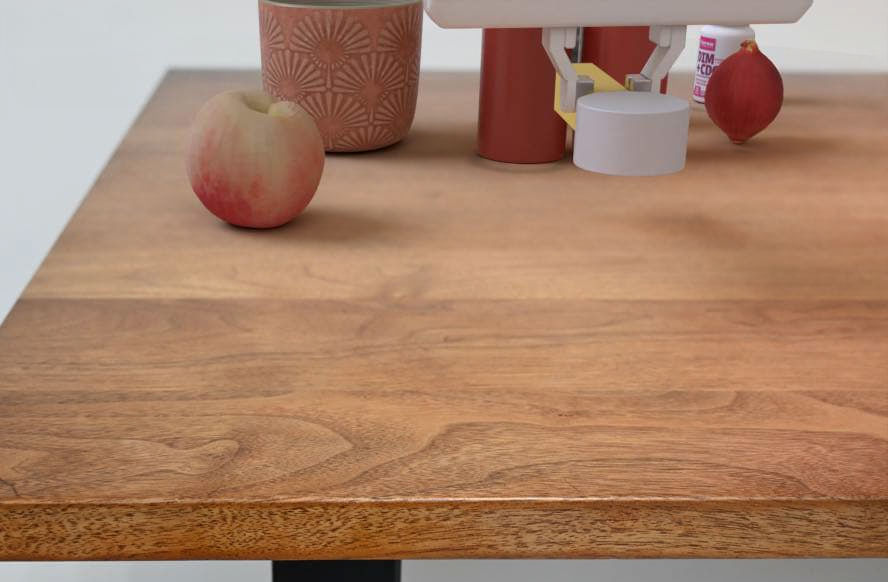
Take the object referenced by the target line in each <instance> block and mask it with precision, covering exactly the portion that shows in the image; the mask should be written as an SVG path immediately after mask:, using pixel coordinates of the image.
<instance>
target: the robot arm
mask: <svg viewBox="0 0 888 582" xmlns="http://www.w3.org/2000/svg"><path fill="white" fill-rule="evenodd" d="M422 3H423V8H424V10H423V11H424V13H426V15H427V17H428V18H429V19H430V20H431V21H432V22H433V23H434V24H435V25H436V26H438V27H439V28H440V29H444V30H459V29H460V30H462V29H463V30H465V29H482V28H536V27H543V31H542V45H543V46H544V48H545V50H546V52H547V54H548V56H549V58H550V60H551V62H552V64H553V66H554V68H555V69H556V71H557V73H558V75H559V76H560V77H561V79H560V97H559V103H560V109H561V110H562V111H563V112H564V113H576V107H577V100H578V98H580V97H582V96H585V95H588V94H593V93H594V80H592V79H590V77H589V76H587V75H577V74H576V72H575V70H574V68H573V66H572V64H571V62H570V60H569V58H568V56H567V54H566V52H565V50H564V47H565V48H567V49H568V48H574V47H575V45H576V32H577V27H601V26H650V31H649V40H650V41H652V42H653V43H655V44H657V47H656V48H655V50H654V51H653V53H652V55H651V56H650V58H649V60H648V61H647V63H646V65H645V66H644V68H643V70H642V71H641V74H628V75H626V79H625V88H626V89H628V90H629V91H637V92H652V93H660V84H661V79H664V77H665V76H666V74H667V73H668V71H670V70H671V69H672V67H673V66H674V64H675V63H676V61H677V60H678V58H679V57H680V55H681V54H682V52H683V50H685V48H686V41H687V30H688V26H706V25H731V24H750V25H782V24H783V25H785V24H786V25H787V24H788V25H789V24H796V23H797V22H799V21H800V19H802V18H803V16H805V14H806V13H807V12H808V10H809V9H810V8H811V7H812V5H813V3H814V0H422ZM668 74H669V73H668Z"/></svg>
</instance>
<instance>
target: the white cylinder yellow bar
mask: <svg viewBox="0 0 888 582" xmlns="http://www.w3.org/2000/svg"><path fill="white" fill-rule="evenodd" d="M571 64H572V66H573V68H574V70H575V72H576V74H577V75H587V76H589V77H590V79H592V80H594V93H593V94H588V95H585V96H582V97H580V98H578V100H577V107H576V113H564V112H563V111H562V110H561V109H560V103H559V97H560V79H561V77H560V76H559V75H558V73H557V71H556V84H555V102H554V110H555V111H556V112H557V113H558V114H559V115H560V116H561V117H562V118H563V119H564V120H565V121H566V122H567V125H568V126H570V127H571V129H572V130H573V129H574V130H575V139H574V154H573V155H572V157H573V158H572V160H573V161H572V163H573V164H574V165H575V166H576V167H578V168H580V169H581V170H584V171H587V172H590V173H594V174H599V175H605V176H611V177H623V178H653V177H663V176H668V175H672V174H676V173H679V172H681V171H682V170H684V169H685V167H686V161H687V160H686V159H687V149H688V138H689V128H690V119H691V109H692V108H691V107H692V104H691V102H690V101H689V100H687V99H685V98H683V97H679V96H676V95H671V94H668V93H666V94H660V93H652V92H637V91H629V90H628V89H626V88H625V87H624V86H622V85H621V84H620V83H618V82H617V81H615V80H614V79H613V78H611V77H610V76H609V75H607V74H606V73H605V72H603V71H602V70H601V69H599V68H598V67H597V66H595V65H594V64H593V63H571Z"/></svg>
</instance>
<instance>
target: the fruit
mask: <svg viewBox="0 0 888 582" xmlns="http://www.w3.org/2000/svg"><path fill="white" fill-rule="evenodd" d="M184 147H185V148H184V162H185V163H184V164H185V165H184V166H185V170H186V175H187V178H188V180H189V183H190V186H191V188H192V191H193V192H194V194H195V196H196V197H197V198H198V200H199V201H200V202H201V204H202V205H203V206H204V208H205V209H206V210H207V211H208V212H210V214H212V215H213V216H215V217H216V218H218V219H219V220H221V221H223V222H225V223H229V224H231V225H234V226H237V227H242V228H251V229H252V228H253V229H271V228H276V227H280V226H282V225H284V224H286V223H288V222H290V221H292V220H294V219H295V218H297V217H298V216H300V214H301V213H302V212H303V211H304V210H305V209H306V208H307V207H308V206H309V204H310V203H311V201H312V200H313V199H314V196H315V195H316V192H317V191H318V188H319V185H320V182H321V180H322V176H323V173H324V168H325V160H326V159H325V158H326V152H325V151H324V146H323V142H322V139H321V136H320V133H319V131H318V128H317V126H316V124H315V122H314V121H313V119H312V118H311V116H310V115H309V114H308V112H307V111H306V110H305V109H304V108H302V107H301V106H300V105H298V104H296V103H294V102H289V101H280V100H279V99H278V98H277V97H276V96H274V95H272V94H270V93H268V92H266V91H263V89H258V88H251V87H250V88H249V87H248V88H232V89H229V90H224V91H221V92H219V93H217V94H216V95H214V96H213V97H211V98H210V99H208V100H207V101H206V102H205V103H204V104H203V106H201V108H200V110H199V111H198V113H197V114H196V116H195V117H194V119H193V122H192V124H191V126H190V129H189V131H188V135H187V137H186V143H185V146H184Z"/></svg>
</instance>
